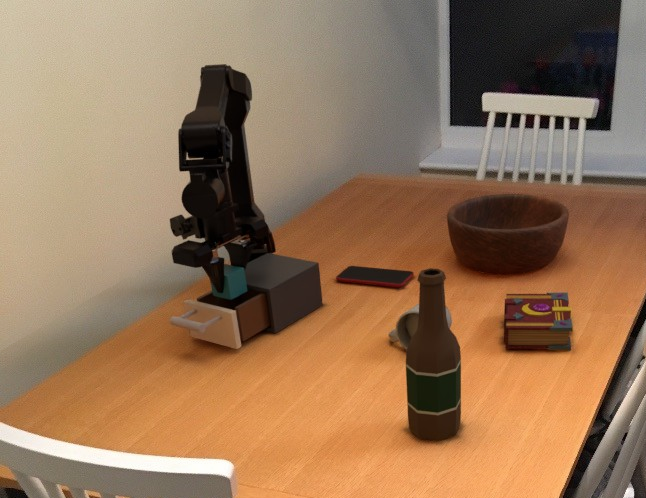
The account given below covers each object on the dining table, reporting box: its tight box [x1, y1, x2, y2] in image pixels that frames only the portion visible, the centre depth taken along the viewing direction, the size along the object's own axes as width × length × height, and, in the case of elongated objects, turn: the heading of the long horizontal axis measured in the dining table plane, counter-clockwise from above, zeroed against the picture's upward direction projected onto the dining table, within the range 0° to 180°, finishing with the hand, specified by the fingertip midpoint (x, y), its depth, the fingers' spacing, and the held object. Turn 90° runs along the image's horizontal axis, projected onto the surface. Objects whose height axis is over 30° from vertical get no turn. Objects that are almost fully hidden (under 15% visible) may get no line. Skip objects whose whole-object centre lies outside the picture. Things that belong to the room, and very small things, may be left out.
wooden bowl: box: [446, 193, 570, 276], centre depth 175 cm, size 25×25×10 cm
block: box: [209, 263, 247, 300], centre depth 148 cm, size 4×4×4 cm
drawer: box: [169, 288, 271, 350], centre depth 150 cm, size 19×11×7 cm, turn 146°
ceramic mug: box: [388, 303, 453, 351], centre depth 144 cm, size 11×8×8 cm
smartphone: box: [335, 265, 415, 288], centre depth 172 cm, size 7×1×15 cm
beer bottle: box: [405, 267, 462, 442], centre depth 116 cm, size 8×8×24 cm
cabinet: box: [245, 253, 324, 334], centre depth 158 cm, size 15×13×9 cm
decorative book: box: [503, 291, 574, 351], centre depth 147 cm, size 11×16×5 cm
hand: (229, 288), depth 149 cm, fingers closed on block, 4 cm apart
